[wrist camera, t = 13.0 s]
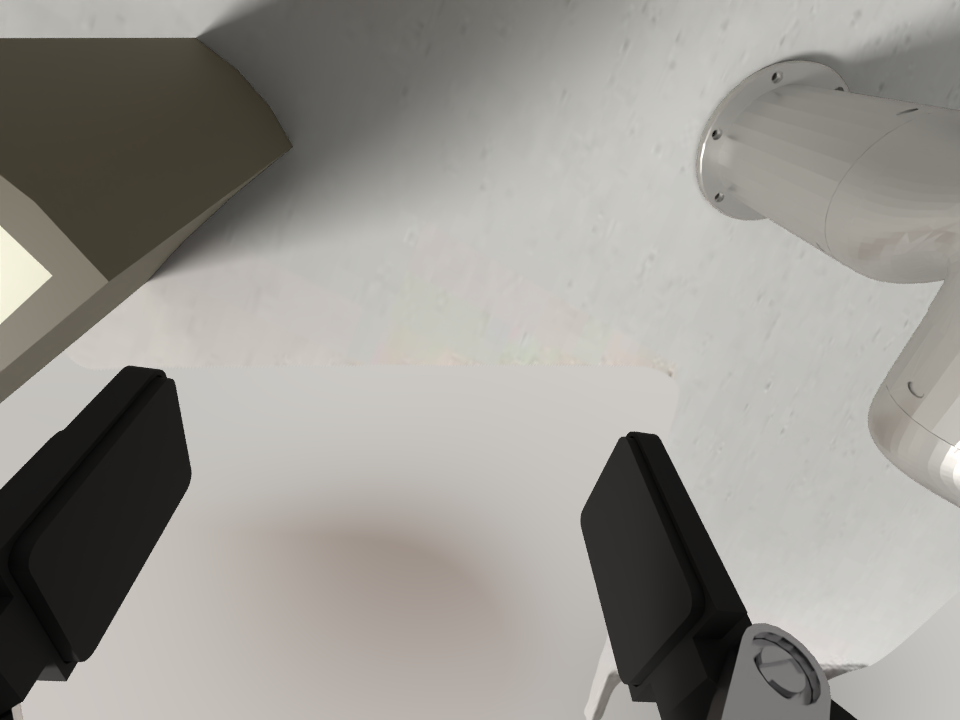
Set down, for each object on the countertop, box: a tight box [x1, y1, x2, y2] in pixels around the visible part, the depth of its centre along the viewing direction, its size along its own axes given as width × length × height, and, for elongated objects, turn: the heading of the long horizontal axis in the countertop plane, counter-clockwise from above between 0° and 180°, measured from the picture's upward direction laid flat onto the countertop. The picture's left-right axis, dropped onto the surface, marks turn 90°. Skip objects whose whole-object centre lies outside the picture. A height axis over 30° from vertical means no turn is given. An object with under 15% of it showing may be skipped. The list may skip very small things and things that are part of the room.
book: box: [0, 38, 293, 403], centre depth 30 cm, size 22×9×28 cm, turn 126°
